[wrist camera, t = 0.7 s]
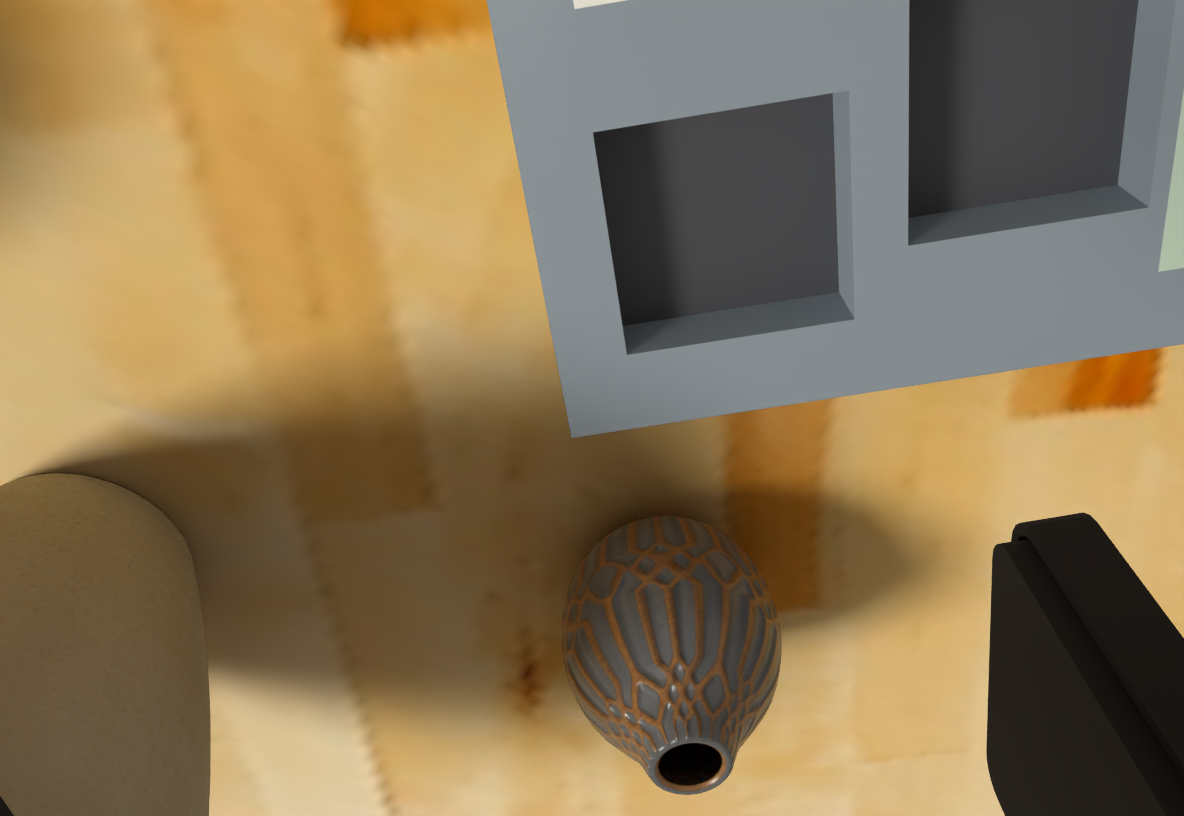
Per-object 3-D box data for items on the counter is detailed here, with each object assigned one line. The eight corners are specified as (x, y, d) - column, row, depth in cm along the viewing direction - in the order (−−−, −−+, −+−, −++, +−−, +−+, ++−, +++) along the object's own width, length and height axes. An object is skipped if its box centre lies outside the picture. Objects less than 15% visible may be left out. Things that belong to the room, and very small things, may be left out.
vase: (757, 627, 39) (811, 835, 32) (568, 645, 39) (578, 857, 32) (757, 473, 35) (818, 666, 28) (549, 492, 35) (554, 691, 28)
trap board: (420, -378, 23) (398, -403, 19) (1606, -596, 22) (1831, -669, 18) (569, 403, 34) (574, 487, 30) (1379, 277, 33) (1492, 347, 29)
